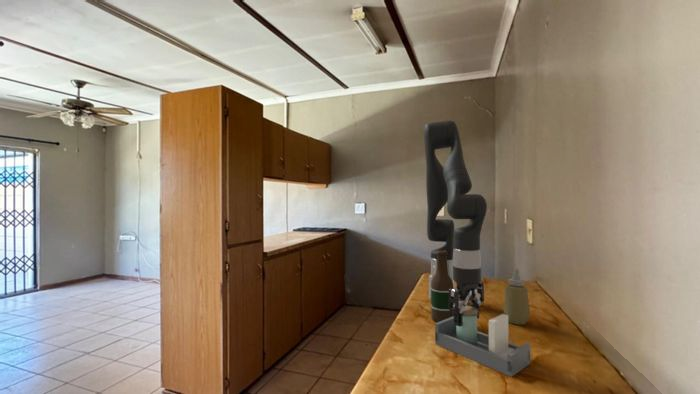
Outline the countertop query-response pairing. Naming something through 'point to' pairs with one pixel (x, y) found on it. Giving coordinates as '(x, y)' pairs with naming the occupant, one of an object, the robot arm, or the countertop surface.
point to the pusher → (499, 336)
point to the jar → (468, 326)
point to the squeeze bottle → (516, 300)
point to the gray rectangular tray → (482, 349)
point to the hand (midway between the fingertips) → (467, 321)
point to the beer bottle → (441, 289)
